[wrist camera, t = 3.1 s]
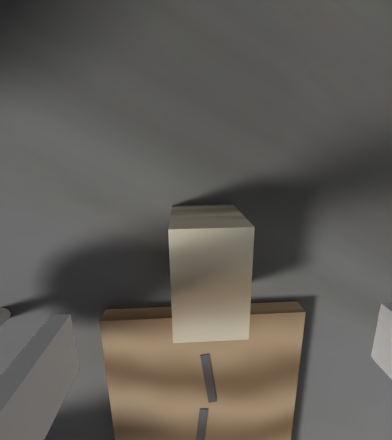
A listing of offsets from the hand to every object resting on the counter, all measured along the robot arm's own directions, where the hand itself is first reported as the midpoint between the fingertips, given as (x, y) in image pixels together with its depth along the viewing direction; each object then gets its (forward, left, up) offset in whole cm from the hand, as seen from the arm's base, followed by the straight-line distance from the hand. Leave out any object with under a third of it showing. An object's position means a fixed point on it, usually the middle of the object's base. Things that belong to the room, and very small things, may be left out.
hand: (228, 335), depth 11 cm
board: (+17, 0, -9) cm, 19 cm away
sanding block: (0, 0, -9) cm, 9 cm away
